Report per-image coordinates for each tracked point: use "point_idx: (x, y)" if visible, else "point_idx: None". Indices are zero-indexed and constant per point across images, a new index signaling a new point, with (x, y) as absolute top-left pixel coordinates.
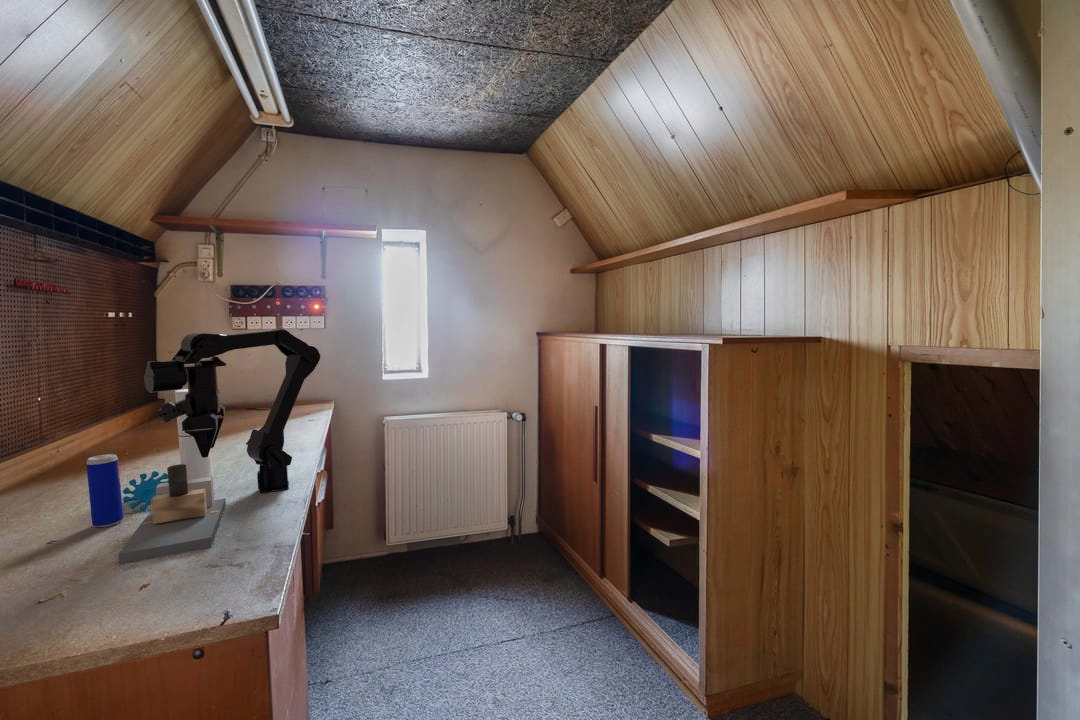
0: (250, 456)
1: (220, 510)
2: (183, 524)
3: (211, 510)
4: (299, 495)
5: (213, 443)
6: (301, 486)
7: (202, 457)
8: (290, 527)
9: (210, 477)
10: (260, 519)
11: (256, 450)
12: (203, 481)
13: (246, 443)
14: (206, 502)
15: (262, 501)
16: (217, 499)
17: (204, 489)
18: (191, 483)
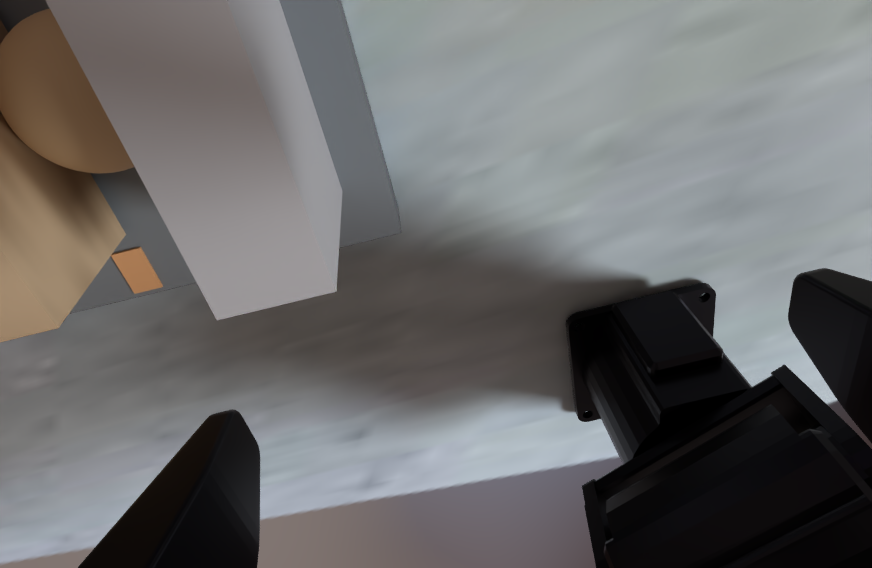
0: (754, 427)
1: (162, 289)
2: None
3: (166, 238)
4: (461, 473)
5: (828, 376)
6: (599, 448)
7: (216, 414)
8: (64, 540)
9: (310, 285)
10: (162, 426)
11: (670, 555)
12: (194, 272)
13: (860, 511)
14: (101, 265)
15: (427, 359)
16: (387, 192)
17: (30, 331)
18: (149, 183)
